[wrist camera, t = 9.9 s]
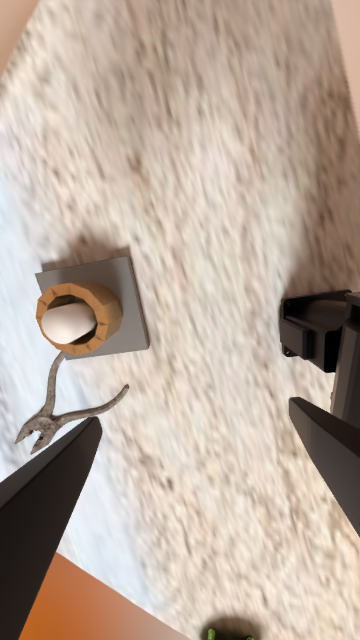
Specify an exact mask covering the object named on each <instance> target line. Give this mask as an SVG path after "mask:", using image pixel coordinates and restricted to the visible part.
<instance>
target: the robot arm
mask: <svg viewBox="0 0 360 640" xmlns="http://www.w3.org/2000/svg"><path fill="white" fill-rule="evenodd" d="M345 293H346V296H345V297H344V294H345ZM287 301H288V302H289V303H288V305H286V302H287ZM280 342H281V343H282V353H283V354H284V355H285V356H286V357H294V356H300V357H301V358H302V359H303V360H309V361H310V362H312V363H313V364H314V365H316V366H317V367H318V368H320V369H321V370H323V371H324V372H325V373H332V372H335V380H334V386H333V392H332V393H331V398H330V399H331V406H330V412H331V414H330V413H328V412H327V411H325V410H323V409H321V408H319V407H317V406H316V405H314V404H312V403H310V402H308V401H306V400H305V399H303V398H301V397H291V398H289V416H290V419H291V421H292V423H293V425H294V427H295V429H296V431H297V433H298V435H299V437H300V439H301V441H302V443H303V444H304V446H305V448H306V450H307V452H308V454H309V456H310V458H311V460H312V461H313V463H314V465H315V466H316V468H317V470H318V471H319V473H320V474H321V476H322V478H323V479H324V481H325V482H326V484H327V486H328V487H329V489H330V490H331V492H332V494H333V495H334V497H335V499H336V500H337V502H338V503H339V505H340V507H341V508H342V510H343V511H344V513H345V515H346V516H347V518H348V519H349V521H350V523H351V524H352V526H353V528H354V529H355V531H356V532H357V534H358V536H359V537H360V292H355V293H352V291H350V290H337V291H331V292H324V293H317V294H311V295H304V296H298V297H291V298H285V299H283V300H282V302H281V319H280ZM287 351H289V353H287ZM101 436H102V427H101V424H100V421H99V418H98V417H97V416H93V417H88V418H87V419H85V420H84V421H82V422H81V423H80V424H78V425H77V426H76V427H74V428H73V429H72V430H70V431H69V432H68V433H66V434H65V435H64V436H62V437H61V438H60V439H58V440H57V441H56V442H54V443H53V444H52V445H50V446H49V447H48V448H46V449H45V450H44V451H42V452H41V453H40V454H38V455H37V456H35V457H34V458H33V459H31V460H30V461H29V462H27V463H26V464H25V465H23V466H22V467H21V468H19V469H18V470H17V471H15V472H14V473H13V474H11V475H10V476H9V477H7V478H6V479H5V480H3V481H2V482H1V483H0V640H18V639H19V637H20V635H21V632H22V630H23V628H24V625H25V623H26V621H27V618H28V616H29V613H30V611H31V609H32V606H33V604H34V601H35V599H36V597H37V595H38V592H39V590H40V587H41V585H42V583H43V581H44V578H45V576H46V573H47V571H48V569H49V566H50V564H51V562H52V559H53V557H54V554H55V552H56V550H57V548H58V545H59V543H60V540H61V538H62V536H63V533H64V531H65V529H66V526H67V524H68V522H69V519H70V517H71V515H72V512H73V510H74V507H75V505H76V503H77V500H78V498H79V496H80V493H81V491H82V489H83V486H84V484H85V482H86V479H87V477H88V474H89V472H90V469H91V466H92V463H93V460H94V457H95V454H96V451H97V448H98V445H99V442H100V439H101Z"/></svg>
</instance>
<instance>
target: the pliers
mask: <svg viewBox="0 0 360 640" xmlns="http://www.w3.org/2000/svg"><path fill="white" fill-rule="evenodd" d="M64 357H65V356H64V353H63V351H62V352H61V353H60V354H59V356H58V357H57V358H56V360H55V361H54V363H53V365H52V367H51V369H50V372H49V377H48V387H47V397H46V402H45V406H44V408H43V409H42V411H41V412H40V413H39V415H38V416H37V417H36V418H34V419H33V420H31V421H30V422H28V423H27V424H25V425H24V426H23V428H22V430H21V431H20V433H19V435H18V437H17V439H16V441H15V444H17V443H18V442H20V441H21V440H23V439H24V438H25V437H26V436H30V435H31V434H32V433H33V432H34V431H33V430H35V431H38V430H39V431H40V432H41V435H42V436H43V437H40V438H39V439H38V440H37V444H36V445H35V446H34V448H33V449H32V451H31V453H30V454H31V455H32V454H33V453H35V452H37V451H38V450H40V449H42V448H43V447H45V446H47V445H48V444H49V443H50V441H51V440H52V438H53V437H54V435H55V433H56V432H57V430H59V429H60V428H61V427H62V426H63V425H65V424H66V423H68V422H71V421H74V420H77V419H82V418H86V417H90V416H95V415H98V414H101V413H103V412H105V411H108V410H109V409H111V408H112V407H114V406H115V405H116V404H117V403H118V402H119V401H120V400H121V399H122V398H123V397H124V396H125V394H126V393H127V391H128V389H129V386H128V385H127V386H125V387H124V389H123V390H122V391H121V393H120V394H119V395H118V396H117V397H116V398H115V399H114V400H113V401H111V402H110V403H108V404H107V405H105V406H102V407H100V408H96V409H92V410H86V411H80V412H74V413H69V414H66V415H63V416H60V417H58V418H54V417H53V416H52V413H53V409H54V405H55V385H56V374H57V370H58V367H59V365H60V363H61V362H62V360H63V359H64Z"/></svg>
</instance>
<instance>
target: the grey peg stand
mask: <svg viewBox="0 0 360 640" xmlns="http://www.w3.org/2000/svg"><path fill="white" fill-rule="evenodd" d="M35 276H36V279H37V282H38V284H39V287H40V290H41V293H42V295H43V294H44V293H45V291H46V290H47V289H48V288H49V287H50V286H55V285H60V284H66V283H74V282H88V281H93V282H96V283H98V284H101V285H104V286H106V287H108V288H109V289H110V290H111V291H112V292H113V293H114V294H115V296H116V297H117V298H118V299H119V301H120V304H121V308H122V312H123V319H122V322H121V326H120V330H119V331H117V332H116V333H115V334H114V335H113V336H112V337H110V338H109V339H108V340H107V341H106V342H104V343H103V344H102V345H100V346H99V347H98V348H97V349H95V350H94V351H93V352H92V353H85V354H78V355H73V354H70V353H68V352H65V351H63V353H64V356H65V359H66V360H71V359H79V358H86V357H94V356H102V355H109V354H117V353H124V352H132V351H139V350H147V349H148V348H149V346H150V344H149V340H148V335H147V331H146V326H145V322H144V318H143V313H142V309H141V304H140V300H139V296H138V291H137V287H136V282H135V278H134V274H133V269H132V265H131V260H130V257H128V256H124V257H119V258H114V259H109V260H103V261H98V262H93V263H88V264H83V265H77V266H72V267H67V268H62V269H57V270H51V271H46V272H41V273H36V274H35ZM41 324H42V329H43V331H44V333H45V334H46V336H47V337H48V338H49V339H51V340H52V341H54V342H56V343H59V344H67V343H70V342H72V341H74V340H75V339H77V338H79V337H81V336H82V335H84V334H86V333H88V332H92V333H96V330H97V326H98V322H97V319H96V315H95V312H94V310H93V309H92V308H91V306H90V305H89V304H88V303H87V302H86V301H85V300H84V299H82V298H79V297H76V298H75V299H74V302H73V303H72V304H69V305H65V306H61V307H57V308H53V309H49V310H48V311H46V312H45V313H44V315H43V317H42V321H41Z"/></svg>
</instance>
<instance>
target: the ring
mask: <svg viewBox="0 0 360 640" xmlns="http://www.w3.org/2000/svg"><path fill="white" fill-rule="evenodd" d="M76 297H79V298H82V299H84V300H85V301H86V302H87V303H88V304H89V305H90V306H91V308H92V309H93V310H94V312H95V315H96V319H97V322H98V326H97V330H96V333H92V332H88V333H86V334H84V335H82V336H81V337H79V338H77V339H75V340H74V341H72V342H70V343H67V344H59V343H56V342H54V341H52V340H51V339H49V338H48V337H47V336H46V334H45V333H44V331H43V329H42V324H41V321H42V317H43V315H44V313H45V312H46V311H48V310H49V309H53V308H57V307H61V306H65V305H69V304H72V303H73V302H74V299H75V298H76ZM36 319H37V322H38V324H39V327H40V329H41V332H42V334H43V336H44V337H45V338H46V339H47V340H48V341H49V342H50V343H51V344H52V345H54V346H55V347H56V348H57V349H59V350H62V351H65V352H68V353H70V354H73V355H78V354H85V353H92V352H93V351H94V350H95V349H97V348H98V347H99V346H100V345H102V344H103V343H104V342H106V341H107V340H108V339H109V338H110V337H112V336H113V335H114V334H115V333H116V332H117V331H119V330H120V326H121V322H122V319H123V312H122V308H121V304H120V301H119V299H118V298H117V297H116V296H115V294H114V293H113V292H112V291H111V290H110V289H109V288H108V287H106V286H104V285H101V284H98V283H96V282H93V281H88V282H74V283H66V284H60V285H55V286H50V287H49V288H48V289H47V290H46V291H45V293H44V294H43V295H42V296H41V297H40V298H39V299H38V304H37V312H36Z"/></svg>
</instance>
